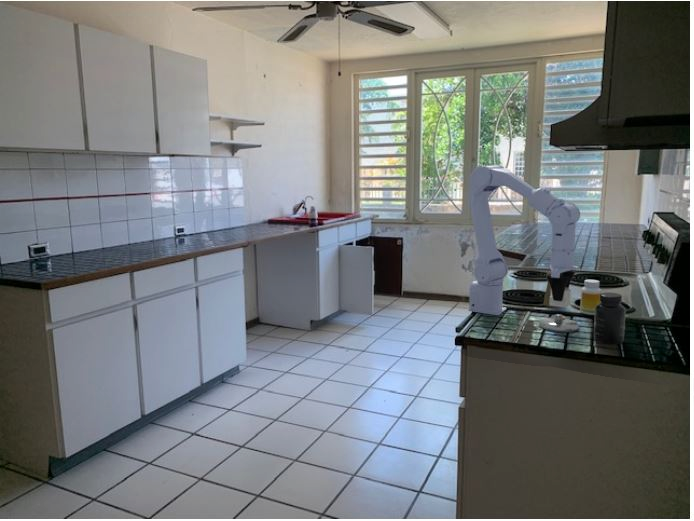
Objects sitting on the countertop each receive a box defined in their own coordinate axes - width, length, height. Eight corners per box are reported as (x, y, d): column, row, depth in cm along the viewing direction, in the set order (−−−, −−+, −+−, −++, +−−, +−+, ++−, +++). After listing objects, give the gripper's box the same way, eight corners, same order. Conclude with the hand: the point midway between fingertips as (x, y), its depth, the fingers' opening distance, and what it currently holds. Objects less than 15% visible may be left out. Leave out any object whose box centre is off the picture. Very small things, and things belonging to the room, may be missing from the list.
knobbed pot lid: (534, 328, 136) (535, 317, 136) (543, 318, 144) (544, 308, 144) (574, 334, 131) (574, 323, 130) (581, 324, 139) (582, 313, 138)
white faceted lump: (547, 305, 136) (548, 288, 135) (551, 301, 140) (552, 285, 139) (567, 307, 133) (569, 290, 132) (571, 304, 137) (572, 287, 136)
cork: (567, 307, 155) (569, 272, 153) (547, 307, 155) (549, 273, 153) (559, 302, 161) (561, 268, 159) (540, 302, 161) (542, 269, 159)
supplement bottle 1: (602, 315, 146) (604, 283, 144) (582, 314, 147) (584, 282, 145) (597, 310, 151) (599, 279, 149) (578, 309, 152) (579, 278, 151)
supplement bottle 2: (610, 334, 130) (614, 290, 128) (629, 343, 124) (633, 296, 121) (587, 337, 129) (590, 292, 127) (604, 346, 122) (608, 299, 120)
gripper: (573, 254, 125) (569, 306, 128) (584, 246, 137) (580, 294, 140) (543, 252, 129) (541, 303, 132) (556, 244, 141) (554, 291, 144)
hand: (559, 298), depth 136 cm, fingers closed on white faceted lump, 4 cm apart
